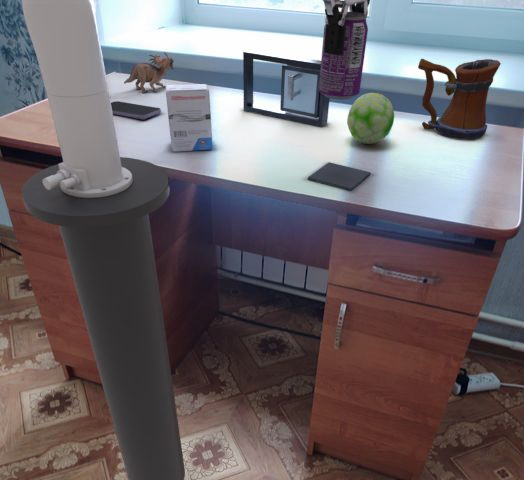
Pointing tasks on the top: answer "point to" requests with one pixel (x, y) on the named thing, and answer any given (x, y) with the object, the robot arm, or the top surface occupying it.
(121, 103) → the smartphone
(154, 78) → the dinosaur figurine
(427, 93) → the mug
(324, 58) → the beverage can
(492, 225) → the top surface
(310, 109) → the sash
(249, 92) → the window frame
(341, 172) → the coaster
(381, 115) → the decorative ball
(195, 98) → the ink box
